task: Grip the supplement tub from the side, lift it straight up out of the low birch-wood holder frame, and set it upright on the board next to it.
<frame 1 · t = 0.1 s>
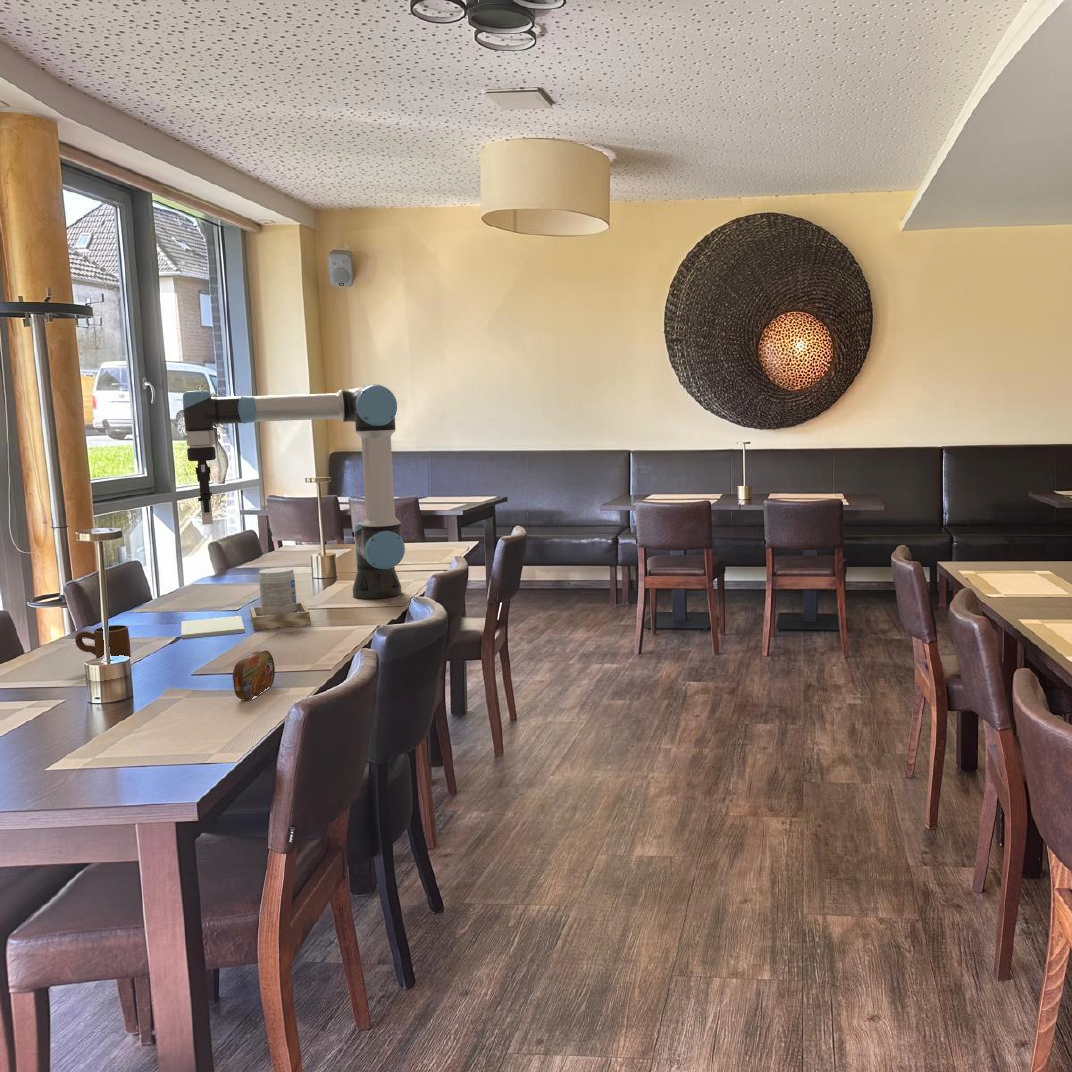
hand: (207, 521, 289), 28 cm above the table, tool pointing down, fingers open, 13 cm apart
tin: (255, 694, 216), on the table
board: (212, 628, 280), on the table
supplement tub: (280, 622, 286), resting in holder frame
mug: (104, 668, 241), on the table
holder frame: (280, 621, 286), on the table
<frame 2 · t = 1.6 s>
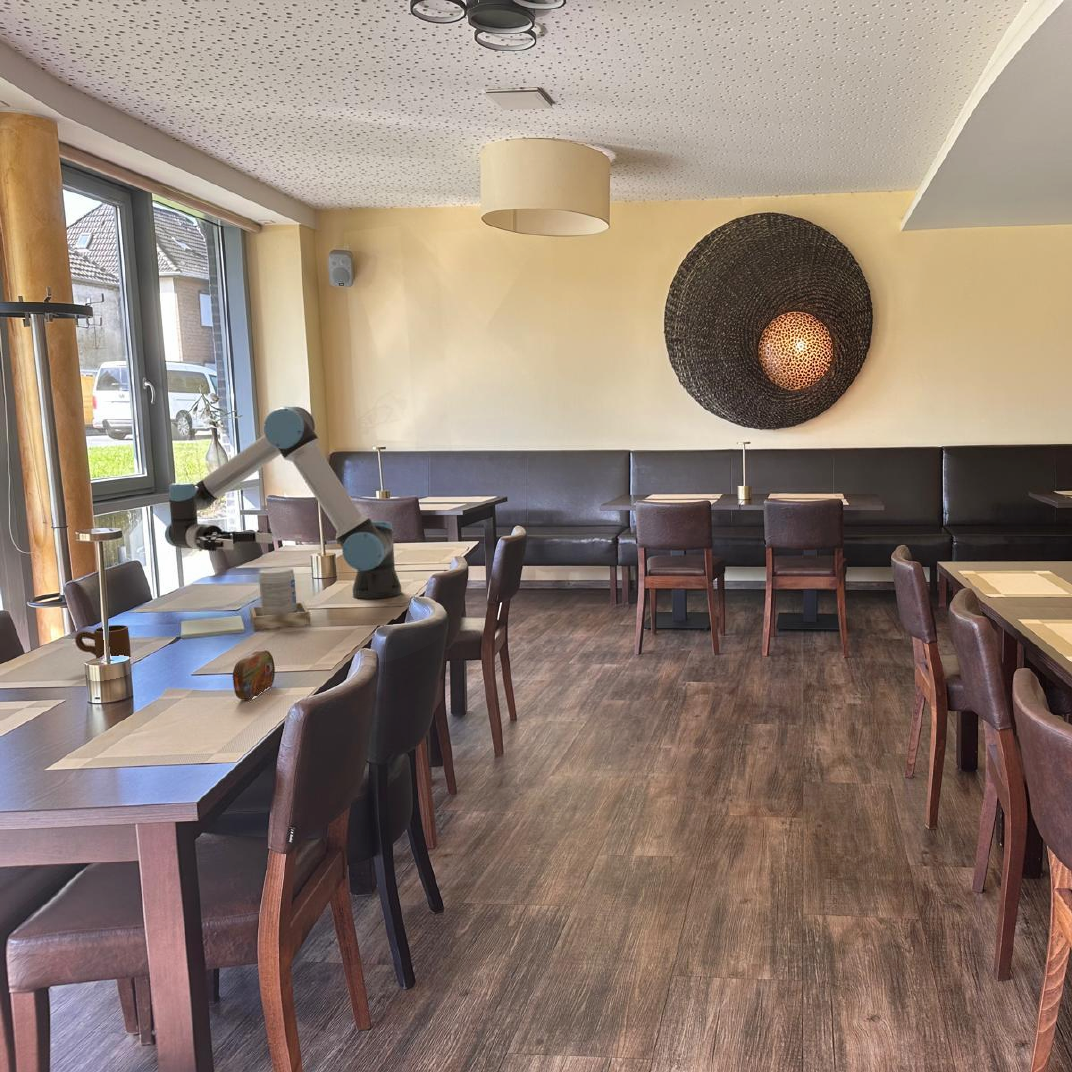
hand: (252, 541, 288), 22 cm above the table, tool horizontal, fingers open, 13 cm apart
nothing on the table moved.
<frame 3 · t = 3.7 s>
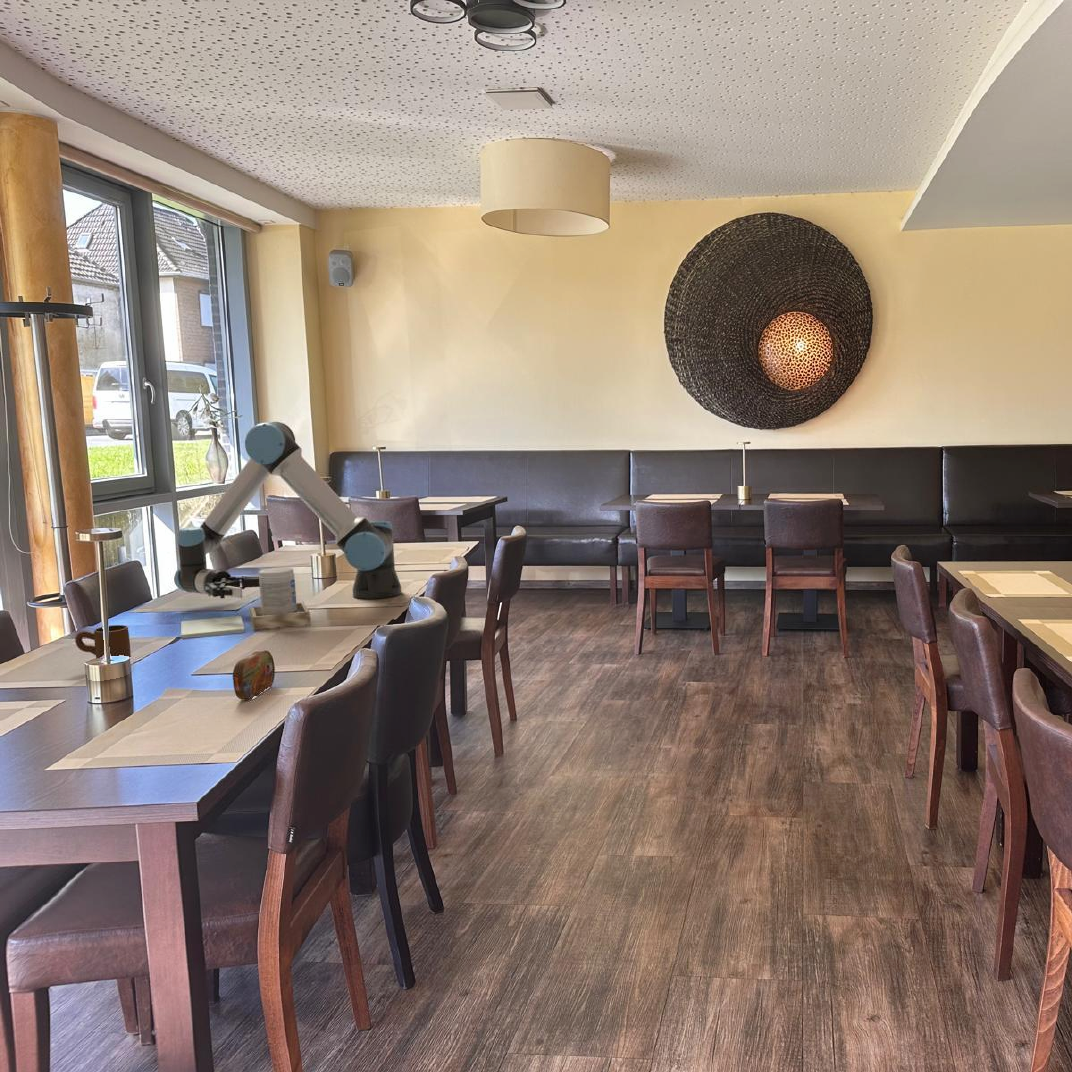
hand: (261, 588, 288), 9 cm above the table, tool horizontal, fingers open, 13 cm apart
nothing on the table moved.
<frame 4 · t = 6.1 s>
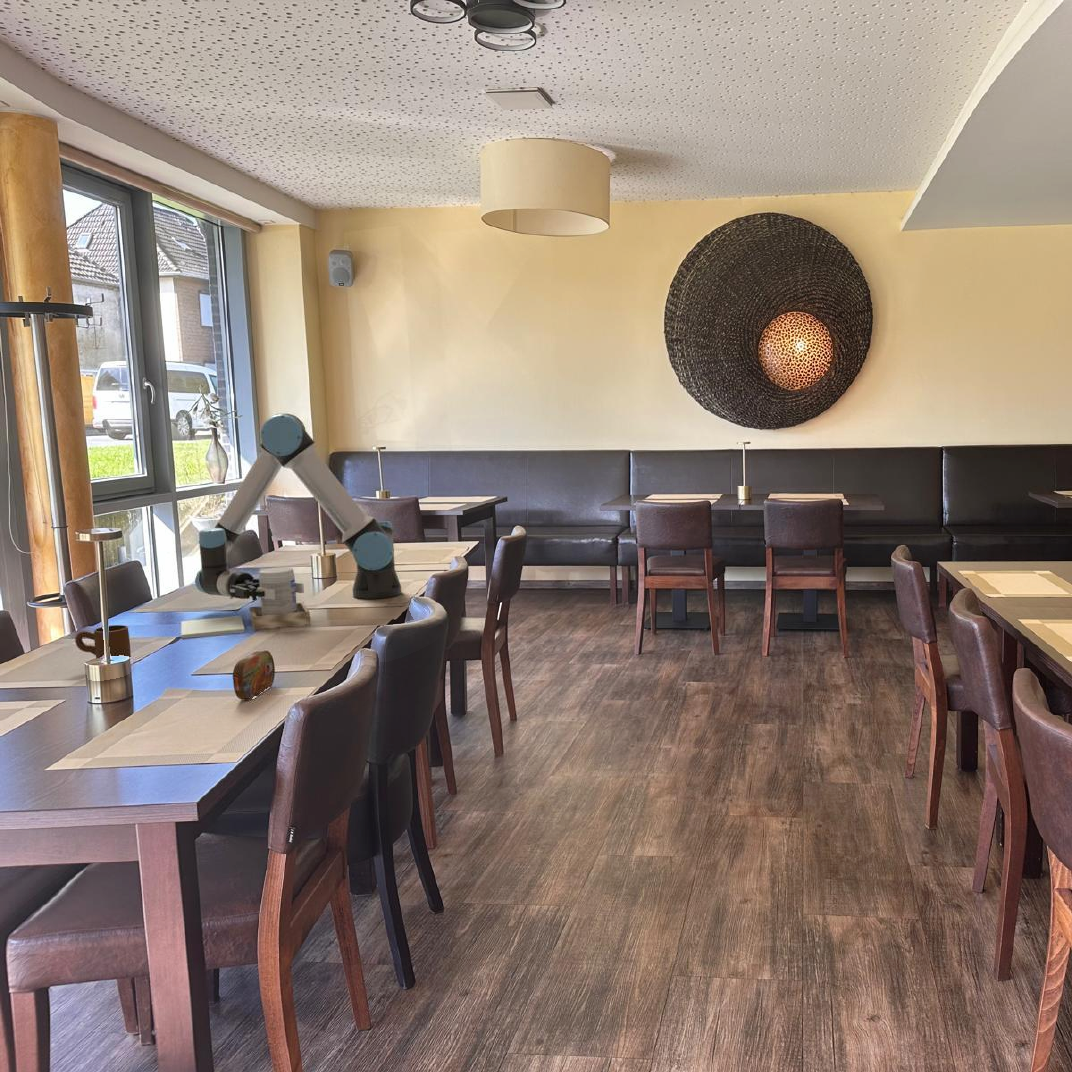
hand: (288, 591, 282), 9 cm above the table, tool horizontal, fingers closed on supplement tub, 9 cm apart
supplement tub: (280, 622, 286), resting in holder frame, touching gripper
everything else where it was.
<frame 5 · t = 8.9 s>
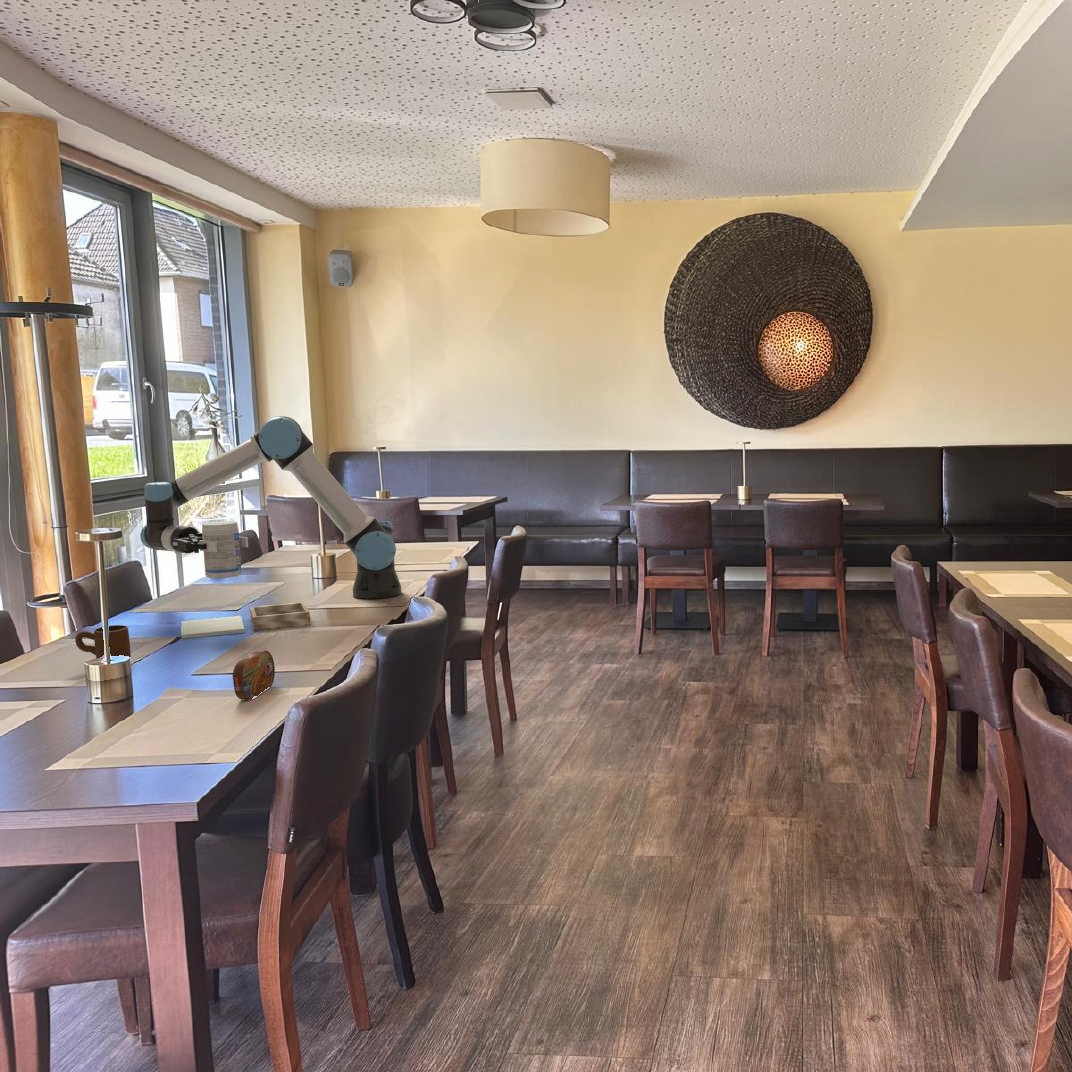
hand: (231, 544, 276), 23 cm above the table, tool horizontal, fingers closed on supplement tub, 9 cm apart
supplement tub: (223, 576, 280), point 14 cm above the table, touching gripper
everything else where it was.
when the fingers open (11 cm above the table, at t = 11.9 s): supplement tub stays where it is, resting on board.
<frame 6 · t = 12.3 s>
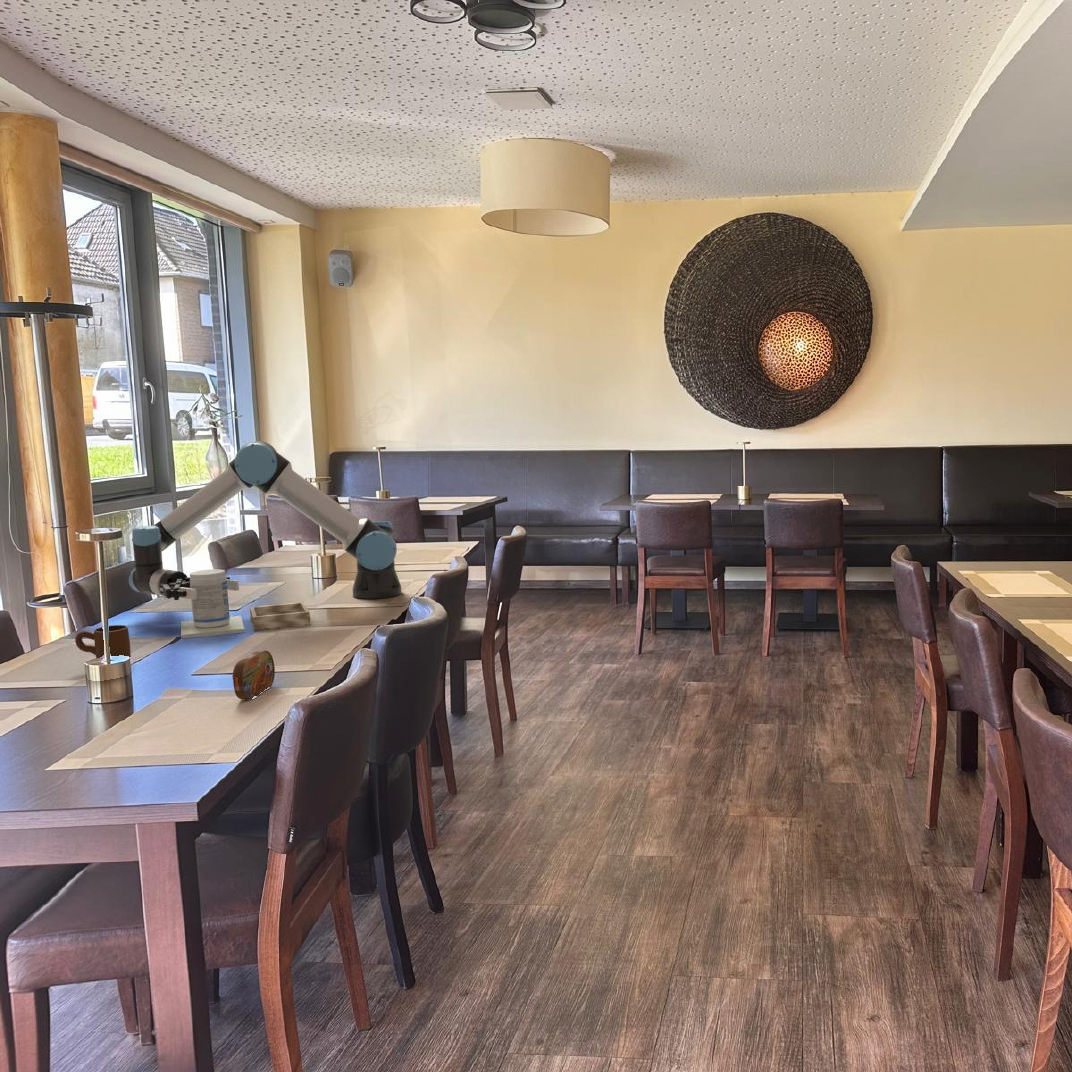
hand: (217, 589, 277), 11 cm above the table, tool horizontal, fingers open, 13 cm apart
supplement tub: (211, 625, 280), point 1 cm above the table, touching board
everything else where it was.
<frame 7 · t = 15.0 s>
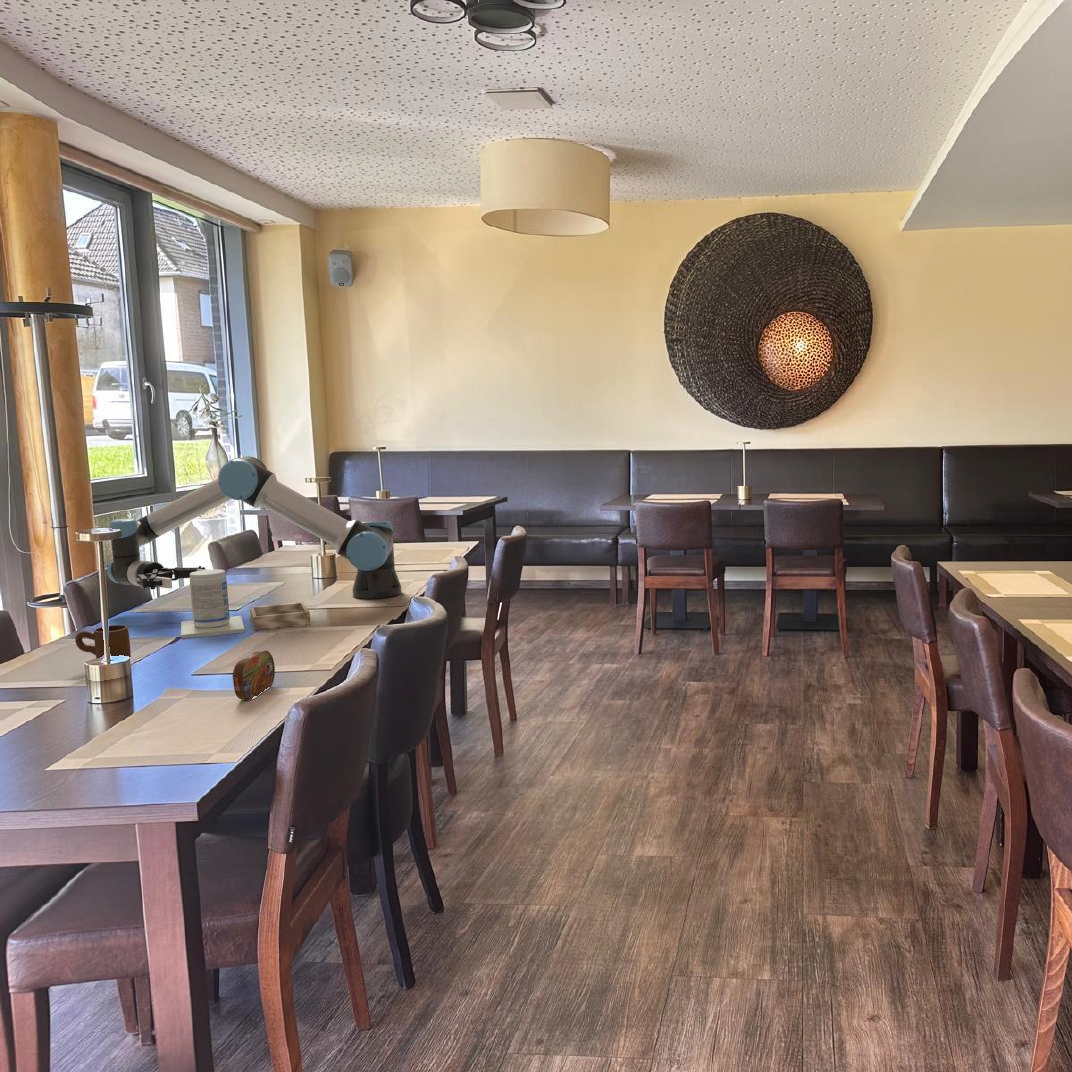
hand: (192, 579, 286), 13 cm above the table, tool horizontal, fingers open, 13 cm apart
nothing on the table moved.
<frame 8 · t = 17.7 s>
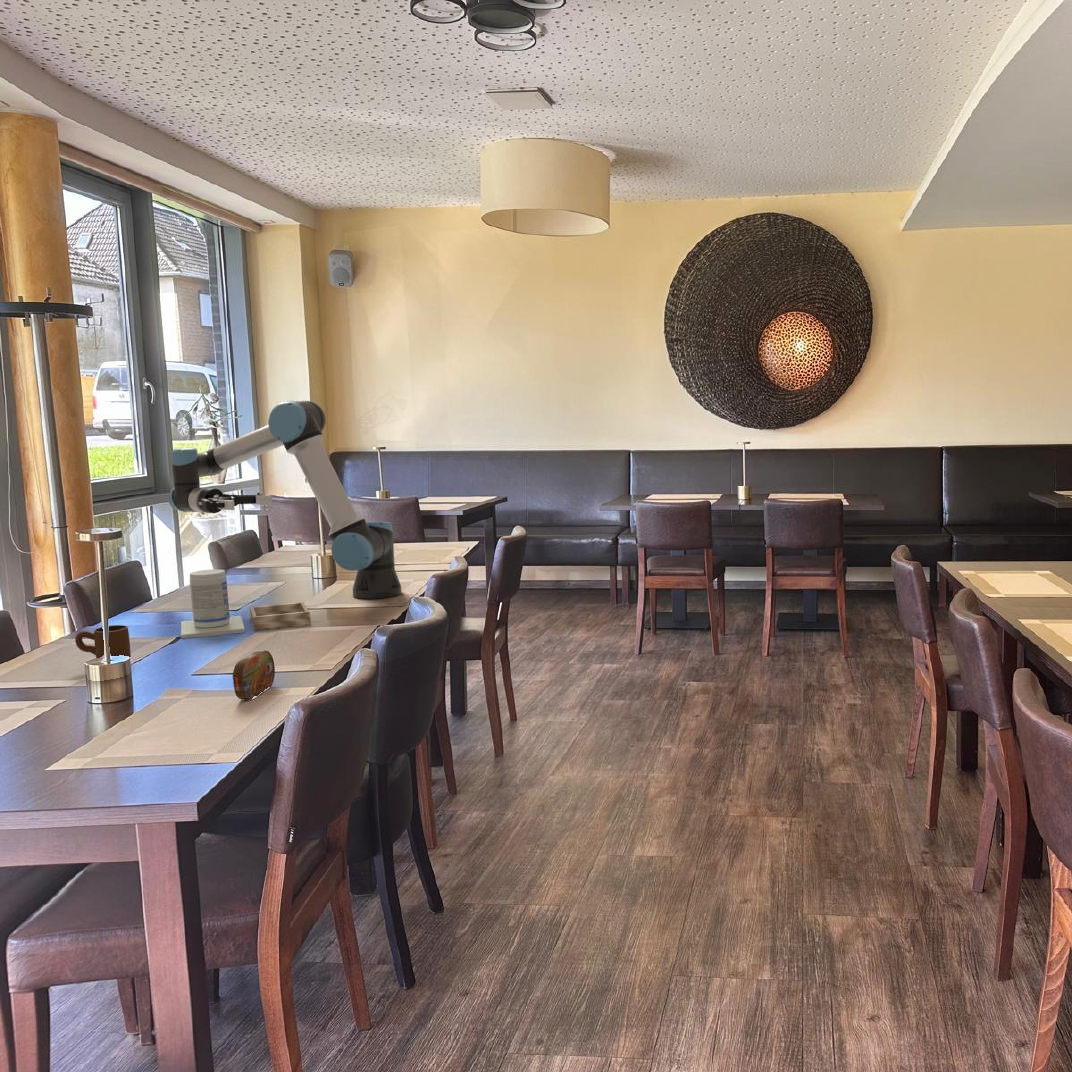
hand: (252, 502, 297), 32 cm above the table, tool horizontal, fingers open, 13 cm apart
nothing on the table moved.
at the end: supplement tub inside the target area on the board (0.1 cm from its centre), point 0.8 cm above the board's base; supplement tub tilted 0°; the gripper is holding nothing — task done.
